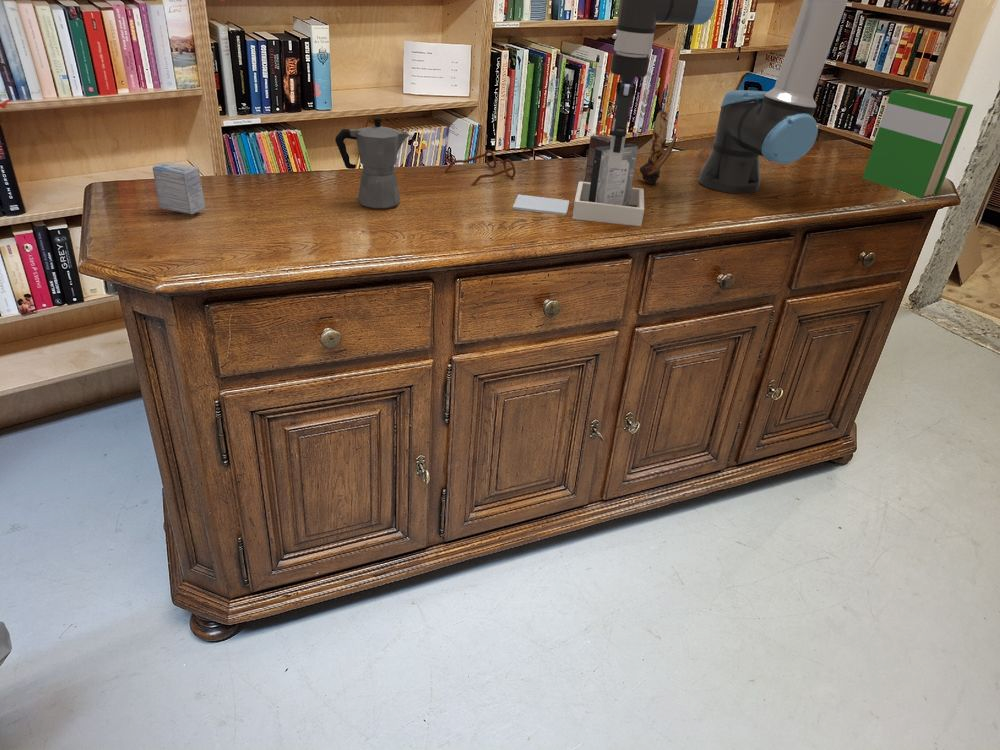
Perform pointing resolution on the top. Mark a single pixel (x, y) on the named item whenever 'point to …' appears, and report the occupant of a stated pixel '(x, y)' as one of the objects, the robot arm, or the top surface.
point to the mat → (541, 204)
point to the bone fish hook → (657, 150)
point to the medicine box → (178, 187)
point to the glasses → (488, 165)
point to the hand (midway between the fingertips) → (614, 159)
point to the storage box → (608, 208)
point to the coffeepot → (375, 162)
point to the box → (594, 142)
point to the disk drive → (613, 176)
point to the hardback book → (916, 142)
